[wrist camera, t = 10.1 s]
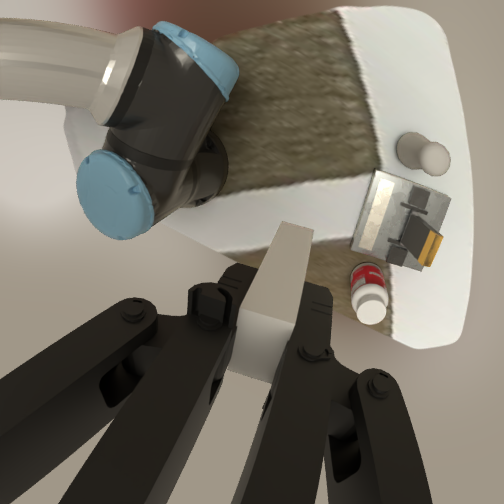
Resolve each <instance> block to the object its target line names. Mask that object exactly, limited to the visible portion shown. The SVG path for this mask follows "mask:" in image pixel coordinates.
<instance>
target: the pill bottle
mask: <svg viewBox="0 0 504 504" xmlns="http://www.w3.org/2000/svg"><path fill="white" fill-rule="evenodd" d="M351 301H352V306H353V309H354V310H355V311H356V313H357V317H358V319H359V320H360V321H361V322H362V323H365V324H376V323H378V322H380V321H381V320H382V319H383V318H384V317H385V315H386V307H387V304H388V294H387V289H386V285H385V281H384V277H383V273H382V271H381V269H380V268H379V267H378V266H377V265H375V264H373V263H362V264H360V265H358V266H357V267H356V268H355V269H354V270H353V271H352V274H351Z"/></svg>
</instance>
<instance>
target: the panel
mask: <svg viewBox="0 0 504 504" xmlns="http://www.w3.org/2000/svg"><path fill="white" fill-rule="evenodd" d="M450 201H451V198H450V197H448V196H447V195H445V194H442V193H440V192H437V191H435V190H433V189H430V188H428V187H425V186H423V185H420V184H417V183H415V182H412V181H409V180H407V179H404V178H401V177H399V176H396V175H393V174H390V173H387V172H384V171H381V170H378V169H375V168H374V172H373V175H372V179H371V182H370V186H369V189H368V192H367V196H366V199H365V202H364V205H363V208H362V212H361V215H360V218H359V221H358V224H357V227H356V230H355V233H354V236H353V238H352V241H351V244H350V247H351V250H353V251H356V252H360V253H363V254H366V255H370V256H373V257H376V258H379V259H383V260H386V262H388V263H391V264H395V265H398V266H401V267H402V266H405V267H408V268H412V269H415V270H418V271H422V269H423V267H424V266H422V265H421V264H420V263H419V262H418V260H417V259H416V258H415V257H414V256H413V255H412V254H411V253H410V252H409V250H408V249H407V248H406V247H405V246H402V245H400V244H399V243H400V240H401V238H402V235H403V233H404V230H405V228H406V225H407V222H408V220H409V217H410V214H411V211H412V210H415V211H417V212H418V216H420V217H421V218H422V219H423V220H424V221H426V222H427V223H428V224H429V225H430V226H432V227H433V228H434V229H435V230H436V231H437V232H439V230H440V228H441V225H442V223H443V220H444V217H445V215H446V212H447V209H448V207H449V204H450Z"/></svg>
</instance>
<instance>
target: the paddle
mask: <svg viewBox="0 0 504 504" xmlns="http://www.w3.org/2000/svg"><path fill="white" fill-rule="evenodd" d="M442 239H443V236H442V235H441V234H440V233H439V232H437V231H436V230H435V229H434V228H433V227H432V226H430V225H429V224H428V223H427V222H426V221H424V220H423V219H422V218H421V217H420V216H418V212H417V211H415V210H412V211H411V214H410V217H409V220H408V222H407V225H406V228H405V230H404V233H403V235H402V238H401V240H400V243H399V244H400V245H402V246H405V247H406V248H407V249H408V250H409V252H410V253H411V254H412V255H413V256H414V257H415V258H416V259H417V260H418V262H419V263H420V264H421V265H422V266H426V267H430V266H431V264H432V262H433V260H434V257H435V255H436V253H437V251H438V248H439V246H440V244H441V241H442Z"/></svg>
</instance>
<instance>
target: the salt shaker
mask: <svg viewBox="0 0 504 504" xmlns="http://www.w3.org/2000/svg"><path fill="white" fill-rule="evenodd" d="M397 153H398V157H399V160H400V161H401V162H402V163H403V164H404V165H405V166H406V167H408V168H410V169H423V170H424V172H425V173H427V174H429V175H431V176H441V175H443V174H445V173H446V172H447V170H448V169H449V167H450V162H451V159H450V155H449V152H448V151H447V149H446V148H445V147H444V146H443V145H441V144H440V143H438V142H430V141H429V140H428V139H427V138H426V137H424V136H423V135H421V134H419V133H412V132H409V133H407V134H405V135H403V136H402V137H401V138H400V140H399V142H398V145H397Z"/></svg>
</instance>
